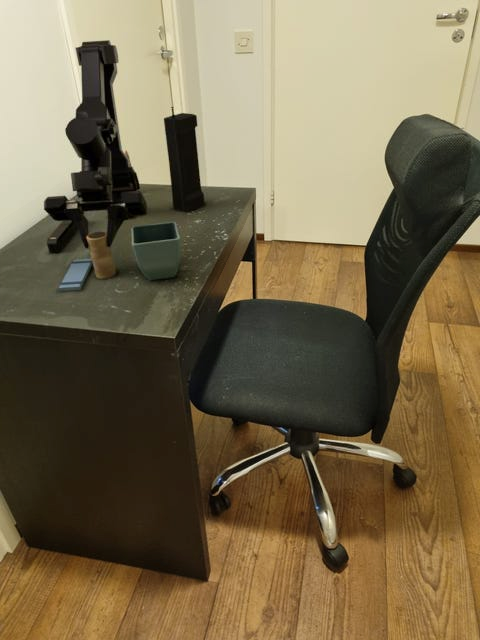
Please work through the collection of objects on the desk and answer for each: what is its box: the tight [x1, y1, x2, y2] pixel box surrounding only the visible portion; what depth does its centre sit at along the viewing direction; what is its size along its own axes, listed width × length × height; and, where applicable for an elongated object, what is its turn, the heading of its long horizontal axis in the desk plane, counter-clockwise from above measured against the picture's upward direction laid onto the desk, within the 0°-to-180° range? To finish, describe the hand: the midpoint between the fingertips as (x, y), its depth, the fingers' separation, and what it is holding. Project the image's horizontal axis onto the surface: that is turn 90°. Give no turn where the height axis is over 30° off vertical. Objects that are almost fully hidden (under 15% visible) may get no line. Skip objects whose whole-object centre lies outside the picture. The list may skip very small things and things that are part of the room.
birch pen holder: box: [86, 230, 117, 280], centre depth 93 cm, size 4×4×9 cm
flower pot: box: [130, 221, 181, 281], centre depth 91 cm, size 9×9×9 cm
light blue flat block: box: [58, 258, 93, 292], centre depth 95 cm, size 4×12×1 cm, turn 3°
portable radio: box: [163, 106, 205, 212], centre depth 118 cm, size 8×6×25 cm
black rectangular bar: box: [46, 220, 78, 253], centre depth 111 cm, size 18×3×3 cm, turn 179°
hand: (97, 247), depth 90 cm, fingers closed on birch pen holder, 4 cm apart
